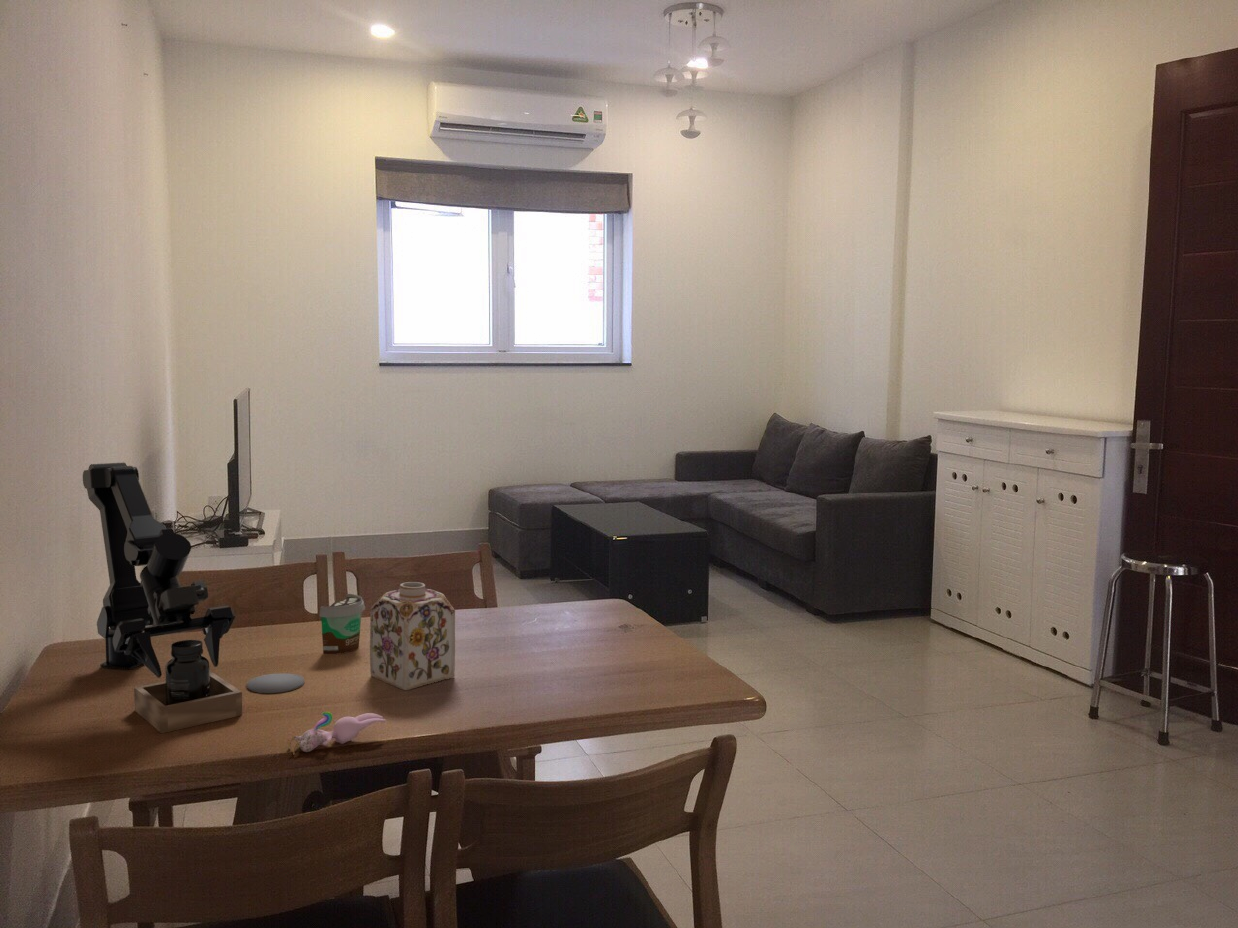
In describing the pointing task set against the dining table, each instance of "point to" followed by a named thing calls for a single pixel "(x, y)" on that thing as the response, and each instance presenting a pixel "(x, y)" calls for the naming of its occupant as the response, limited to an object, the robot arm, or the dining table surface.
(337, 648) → the food container
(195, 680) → the supplement bottle
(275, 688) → the coaster
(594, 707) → the dining table surface
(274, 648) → the dining table surface
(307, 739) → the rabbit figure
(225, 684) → the walnut box
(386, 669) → the decorative jar
